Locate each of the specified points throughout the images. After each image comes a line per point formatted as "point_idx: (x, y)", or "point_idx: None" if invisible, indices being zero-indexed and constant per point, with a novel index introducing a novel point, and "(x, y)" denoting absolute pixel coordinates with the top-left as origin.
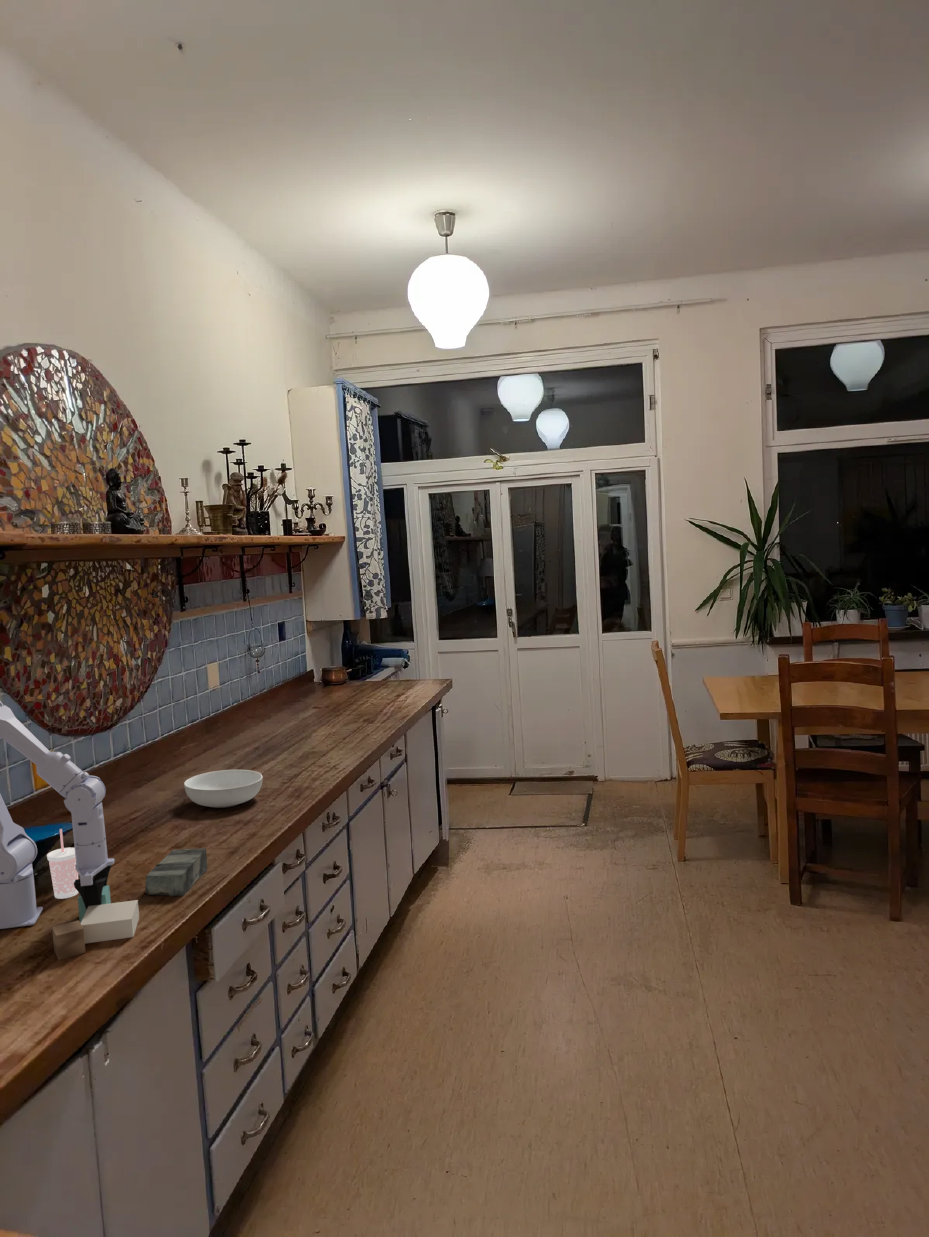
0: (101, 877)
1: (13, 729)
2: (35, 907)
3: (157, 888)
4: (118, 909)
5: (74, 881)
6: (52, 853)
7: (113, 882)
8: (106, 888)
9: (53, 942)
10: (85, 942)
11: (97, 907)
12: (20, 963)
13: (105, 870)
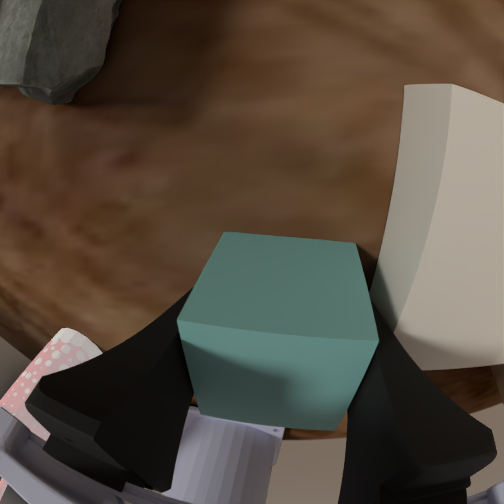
0: (159, 402)
1: None
2: (225, 439)
3: (96, 18)
4: None
5: (64, 367)
6: None
7: (8, 242)
8: (241, 337)
9: (496, 382)
10: None
11: (428, 335)
12: (488, 400)
13: (127, 429)
